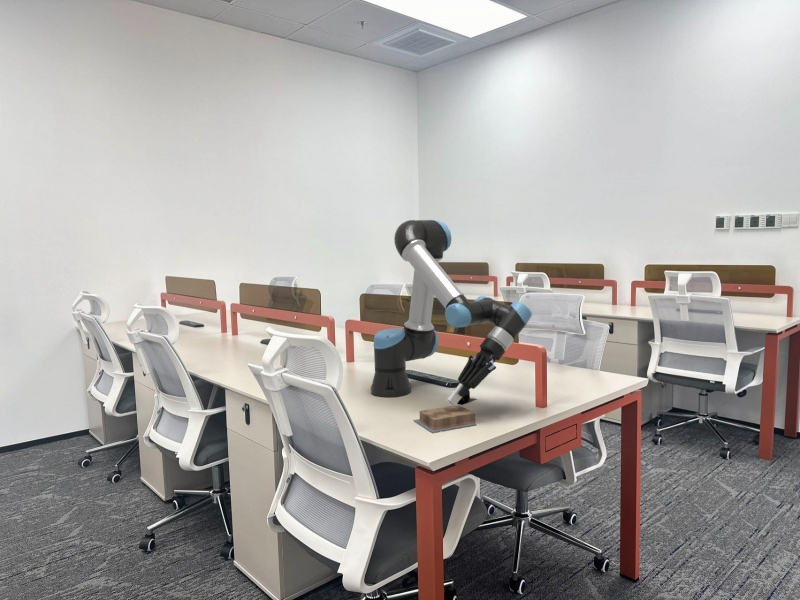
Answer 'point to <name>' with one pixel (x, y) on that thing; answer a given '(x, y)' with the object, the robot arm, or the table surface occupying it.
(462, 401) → the black notched bracket mount
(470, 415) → the mottled brown tile
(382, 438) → the table surface
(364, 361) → the table surface
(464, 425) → the felt mat
